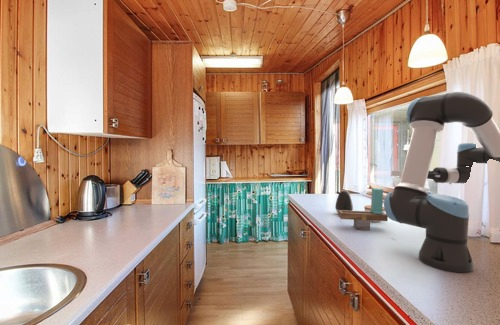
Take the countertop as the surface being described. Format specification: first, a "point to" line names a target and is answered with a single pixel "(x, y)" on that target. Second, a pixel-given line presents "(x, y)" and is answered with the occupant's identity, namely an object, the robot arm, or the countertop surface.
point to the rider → (377, 201)
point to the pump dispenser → (344, 201)
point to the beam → (362, 218)
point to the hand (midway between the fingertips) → (395, 173)
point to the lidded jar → (368, 207)
